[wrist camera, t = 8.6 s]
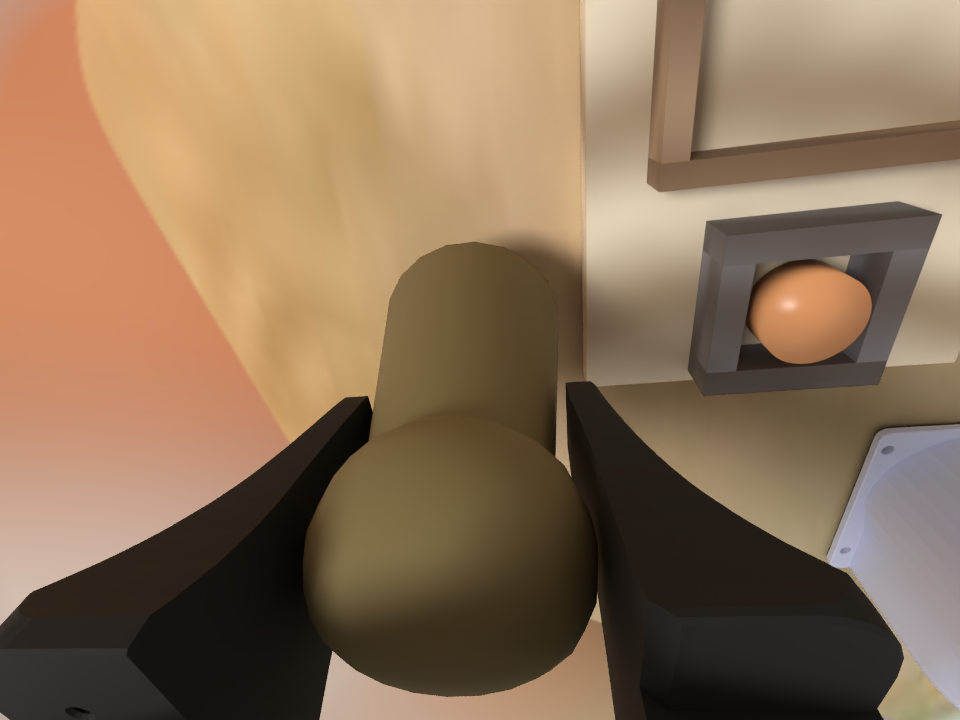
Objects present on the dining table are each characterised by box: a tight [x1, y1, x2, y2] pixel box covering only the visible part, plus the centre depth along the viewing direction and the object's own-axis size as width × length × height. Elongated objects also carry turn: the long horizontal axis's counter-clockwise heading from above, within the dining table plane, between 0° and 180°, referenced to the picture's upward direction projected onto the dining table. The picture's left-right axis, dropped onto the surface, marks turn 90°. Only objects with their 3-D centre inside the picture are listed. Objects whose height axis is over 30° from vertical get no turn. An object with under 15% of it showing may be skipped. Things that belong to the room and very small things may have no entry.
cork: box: [303, 242, 598, 697], centre depth 12 cm, size 6×6×11 cm
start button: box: [745, 259, 872, 364], centre depth 16 cm, size 3×3×2 cm
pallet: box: [580, 0, 960, 396], centre depth 14 cm, size 18×14×3 cm
